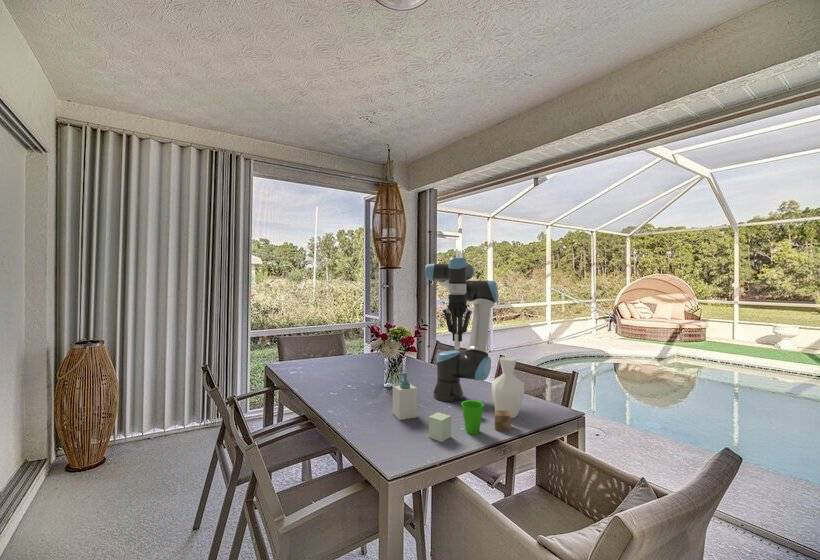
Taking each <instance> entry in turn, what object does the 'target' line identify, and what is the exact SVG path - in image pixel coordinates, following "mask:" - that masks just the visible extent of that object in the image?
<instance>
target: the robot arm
mask: <svg viewBox="0 0 820 560" xmlns="http://www.w3.org/2000/svg"><path fill="white" fill-rule="evenodd" d="M474 275H475V268H474V266H473V265H472V264H470V263H467V259H466V258H465V257H451V258H449V260H448V263H429V264H428V263H427V264H426V265H425V268H424V276H425V278H426V280H429V281H436V282H438V283H439V284H440V285H442V286H443V287H444V288H446V289H447V290H448V293H449V294H448V306H447V308H445V309H442V312H443V315H444V316H445V322H446V326H447V331H448V332H449V333H452V342H454V349H453V350H446V351H441V352H439V353H437V357H436V358H437V359H436V384H435V387H434V389H433V398H434V399H436V400H438V401H440V402H441V401H442V402H458V401H461V400H463V399H464V392H463V388H462V385H461V379H465V380H473V381H486V380H487V379H488V377H489V376H490V372H491V369H492V359H491V357H489V353H488V352H487V343H488V336H489V328H490V318H491V312H492V311H491V310H492V309H493V308H494V306H495V303H498V302H499V290H498V285H497V282H496V281H495V280H488V279H487V280H472V278H473V277H474ZM470 279H471V280H470ZM467 302H471V303H472V305H473V306H474V308H473V311H472V310H470V309H469V308H468V305H467ZM472 314H473V316H472ZM464 315H465V316H464ZM471 316H472V322H471V323H472V324H471V331H470V336H469V345H468V348H466V349H465V351H464V354H461V351H460V349H461V342H463V334H466V333H467V331H468V328H469V327H468V326H469V323H470V318H471Z"/></svg>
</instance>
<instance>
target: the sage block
mask: <svg viewBox="0 0 820 560" xmlns="http://www.w3.org/2000/svg"><path fill="white" fill-rule="evenodd" d="M451 430H452V415H448V414H445V413H442V412H435V413H434V414H431V415H429V416H428V438H429V439H432V440H435V441H438V442H440V443H443V442H444V441H446V440H448V439H449V438H451V437H452V431H451Z"/></svg>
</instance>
